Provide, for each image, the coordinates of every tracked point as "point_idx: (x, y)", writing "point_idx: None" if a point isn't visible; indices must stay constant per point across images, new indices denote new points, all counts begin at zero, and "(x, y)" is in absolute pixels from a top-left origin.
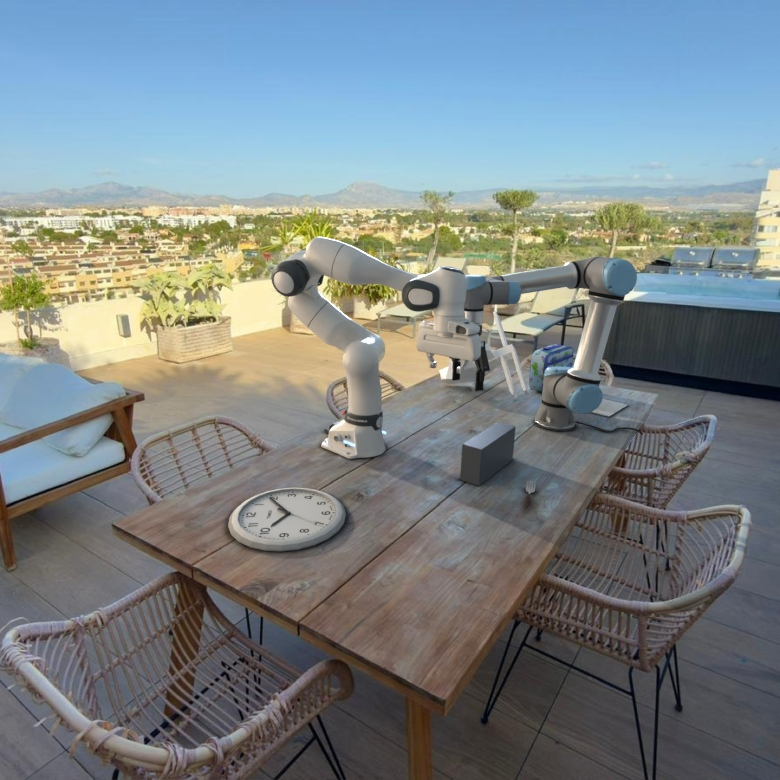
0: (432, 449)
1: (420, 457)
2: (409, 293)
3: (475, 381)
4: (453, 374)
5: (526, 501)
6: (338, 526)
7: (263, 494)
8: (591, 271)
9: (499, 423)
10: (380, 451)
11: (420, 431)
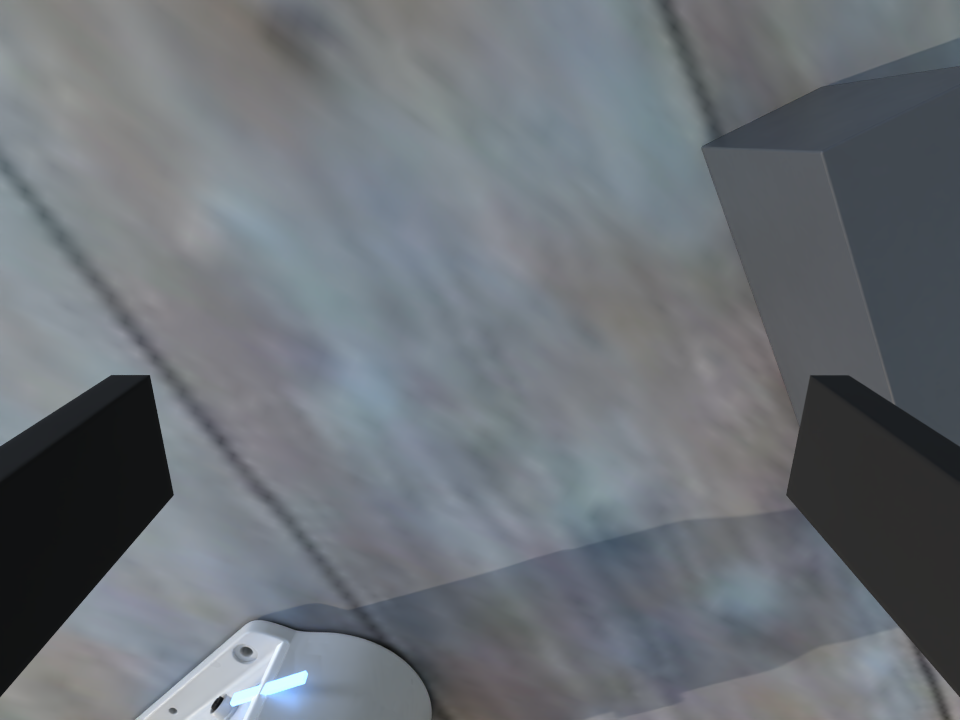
0: (464, 447)
1: (525, 544)
2: None
3: (881, 604)
4: (112, 564)
5: None
6: None
7: None
8: None
9: (862, 167)
10: (415, 690)
11: (187, 379)
